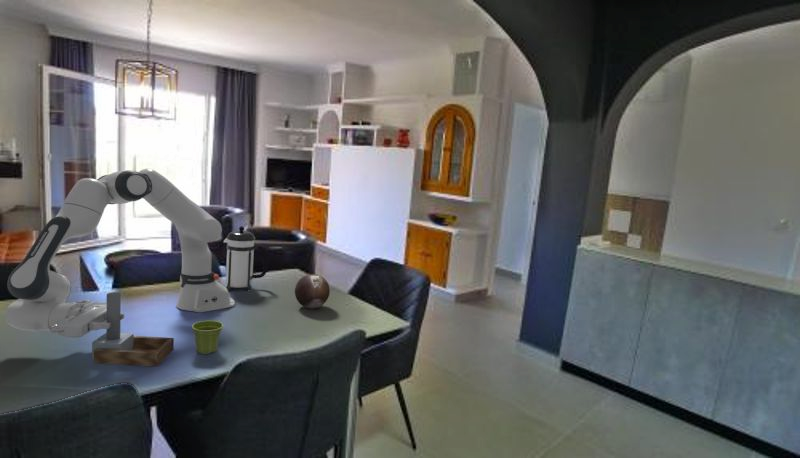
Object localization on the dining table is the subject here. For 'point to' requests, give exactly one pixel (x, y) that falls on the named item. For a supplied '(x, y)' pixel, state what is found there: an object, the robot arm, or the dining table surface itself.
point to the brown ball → (312, 291)
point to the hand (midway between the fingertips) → (116, 320)
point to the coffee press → (242, 259)
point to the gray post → (113, 328)
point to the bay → (138, 352)
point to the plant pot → (207, 335)
